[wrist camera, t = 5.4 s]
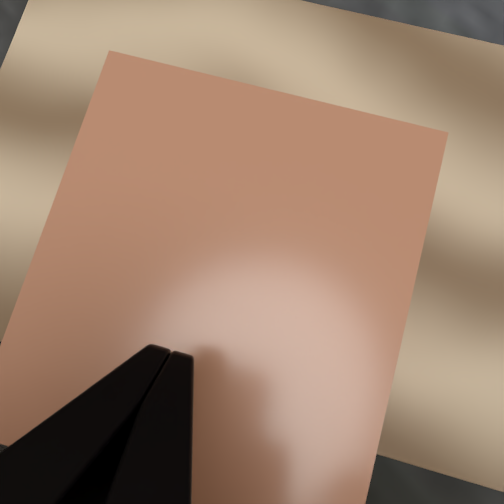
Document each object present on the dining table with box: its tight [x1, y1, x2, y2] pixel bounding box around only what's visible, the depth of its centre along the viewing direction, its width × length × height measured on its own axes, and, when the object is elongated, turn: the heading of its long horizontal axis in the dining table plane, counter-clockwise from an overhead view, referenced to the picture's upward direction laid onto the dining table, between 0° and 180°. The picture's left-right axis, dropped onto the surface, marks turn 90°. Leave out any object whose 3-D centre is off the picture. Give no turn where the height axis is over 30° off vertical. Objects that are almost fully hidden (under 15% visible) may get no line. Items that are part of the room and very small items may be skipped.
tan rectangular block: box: [0, 50, 449, 504], centre depth 13 cm, size 4×9×10 cm
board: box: [0, 0, 504, 492], centre depth 16 cm, size 14×20×1 cm
